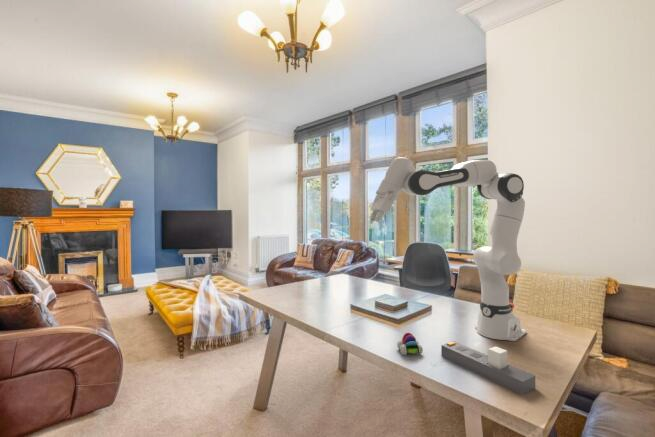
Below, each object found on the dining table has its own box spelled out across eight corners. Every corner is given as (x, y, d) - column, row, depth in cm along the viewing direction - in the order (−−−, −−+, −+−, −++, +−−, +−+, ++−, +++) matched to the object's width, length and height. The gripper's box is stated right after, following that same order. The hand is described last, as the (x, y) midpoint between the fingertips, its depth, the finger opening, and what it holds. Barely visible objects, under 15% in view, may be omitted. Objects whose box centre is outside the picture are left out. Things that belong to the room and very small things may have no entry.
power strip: (453, 353, 125) (453, 339, 125) (535, 391, 99) (535, 373, 99) (441, 358, 122) (441, 343, 122) (522, 398, 96) (522, 379, 96)
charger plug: (495, 372, 109) (495, 346, 109) (506, 377, 106) (507, 350, 105) (488, 375, 107) (488, 348, 107) (499, 381, 104) (500, 353, 103)
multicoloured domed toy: (416, 346, 132) (416, 329, 132) (424, 357, 123) (424, 338, 122) (396, 347, 132) (396, 329, 132) (402, 358, 122) (402, 339, 122)
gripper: (401, 193, 127) (386, 225, 127) (388, 196, 148) (375, 223, 148) (387, 186, 127) (372, 218, 127) (376, 190, 147) (363, 217, 147)
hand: (374, 221), depth 137 cm, fingers open, 8 cm apart
